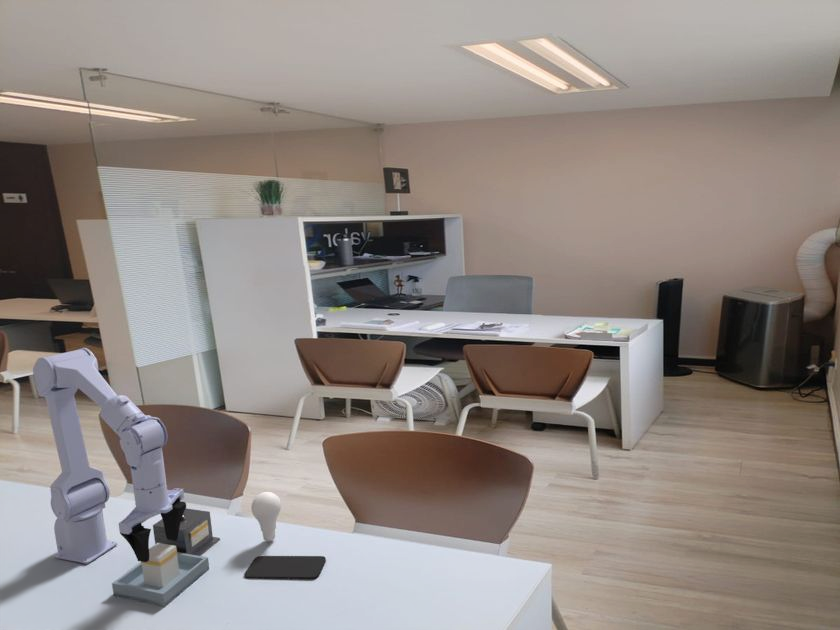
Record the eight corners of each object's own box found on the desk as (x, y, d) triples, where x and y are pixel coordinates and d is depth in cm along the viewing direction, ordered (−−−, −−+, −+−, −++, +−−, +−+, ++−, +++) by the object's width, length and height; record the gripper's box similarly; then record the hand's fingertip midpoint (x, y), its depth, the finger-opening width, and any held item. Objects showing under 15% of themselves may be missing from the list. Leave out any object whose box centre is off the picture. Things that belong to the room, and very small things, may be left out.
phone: (256, 555, 126) (327, 555, 124) (256, 559, 126) (327, 559, 124) (241, 576, 118) (317, 577, 117) (242, 580, 119) (317, 581, 117)
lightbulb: (276, 549, 128) (272, 500, 126) (250, 547, 129) (244, 499, 128) (288, 534, 134) (284, 487, 132) (263, 532, 135) (258, 486, 133)
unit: (149, 558, 127) (144, 524, 126) (183, 533, 137) (179, 502, 135) (188, 565, 124) (184, 530, 123) (220, 540, 133) (216, 507, 132)
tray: (113, 595, 115) (111, 583, 115) (160, 560, 126) (159, 548, 126) (165, 606, 111) (163, 594, 111) (209, 568, 122) (208, 557, 122)
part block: (143, 583, 117) (139, 555, 116) (161, 570, 122) (157, 542, 121) (163, 587, 116) (159, 558, 115) (180, 573, 120) (176, 545, 119)
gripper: (136, 503, 107) (146, 574, 110) (193, 469, 121) (200, 533, 123) (106, 499, 110) (116, 568, 112) (164, 466, 123) (172, 528, 125)
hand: (158, 549), depth 118 cm, fingers open, 7 cm apart
